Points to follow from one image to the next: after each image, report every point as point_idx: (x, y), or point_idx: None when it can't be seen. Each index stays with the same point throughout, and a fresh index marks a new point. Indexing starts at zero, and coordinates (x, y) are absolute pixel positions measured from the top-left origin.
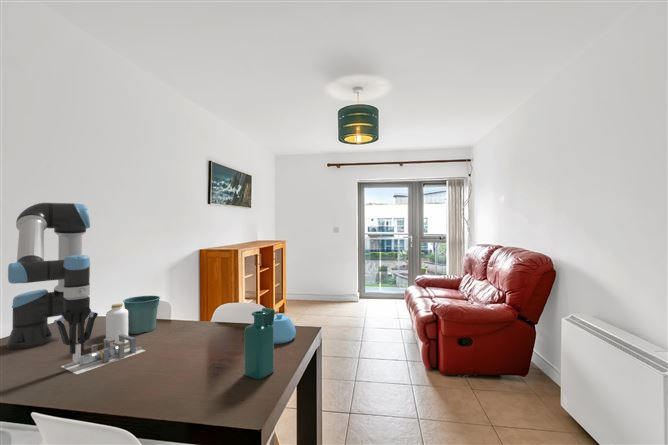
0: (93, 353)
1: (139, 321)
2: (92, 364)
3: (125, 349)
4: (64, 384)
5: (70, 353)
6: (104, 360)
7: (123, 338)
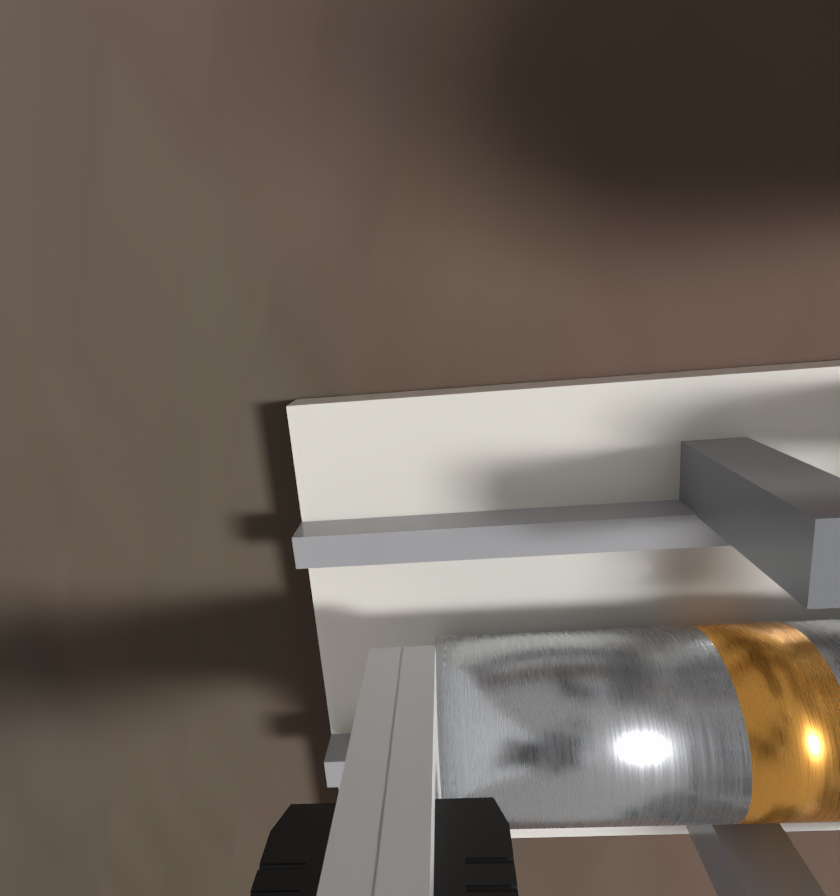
0: (639, 816)
1: None
2: None
3: None
4: (226, 876)
5: (289, 815)
6: (688, 826)
7: None
